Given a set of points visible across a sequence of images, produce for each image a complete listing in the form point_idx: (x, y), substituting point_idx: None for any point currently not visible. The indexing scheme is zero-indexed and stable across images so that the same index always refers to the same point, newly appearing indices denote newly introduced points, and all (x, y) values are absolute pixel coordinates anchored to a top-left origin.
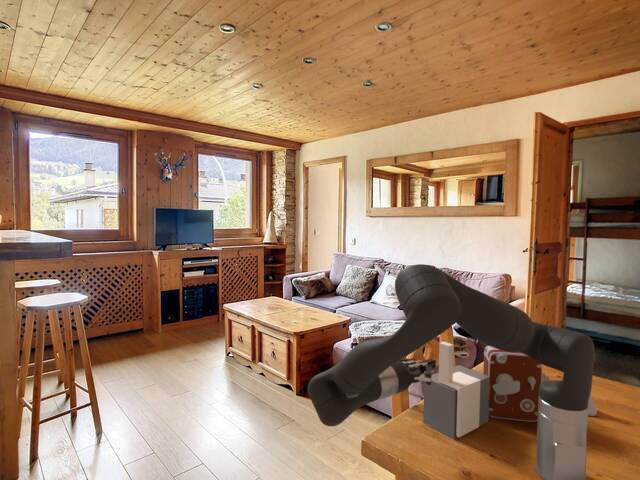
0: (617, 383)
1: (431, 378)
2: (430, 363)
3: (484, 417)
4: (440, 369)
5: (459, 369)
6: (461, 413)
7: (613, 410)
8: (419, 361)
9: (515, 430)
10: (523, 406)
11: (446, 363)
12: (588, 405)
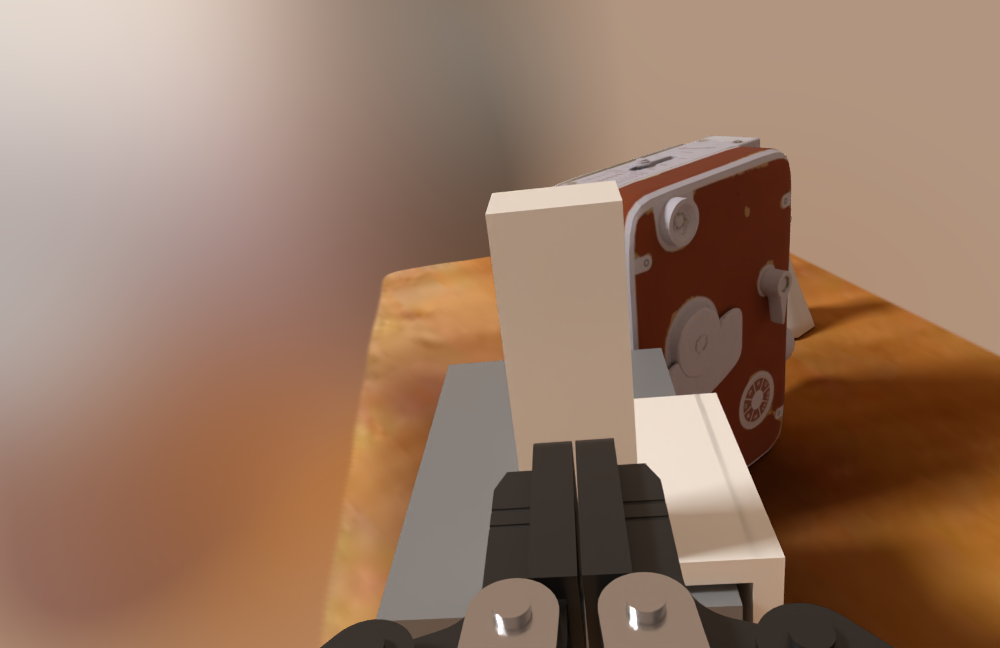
0: None
1: (436, 586)
2: (634, 529)
3: None
4: None
5: (488, 388)
6: None
7: (801, 290)
8: (519, 624)
9: (792, 539)
10: (746, 412)
11: (607, 400)
12: (797, 301)
